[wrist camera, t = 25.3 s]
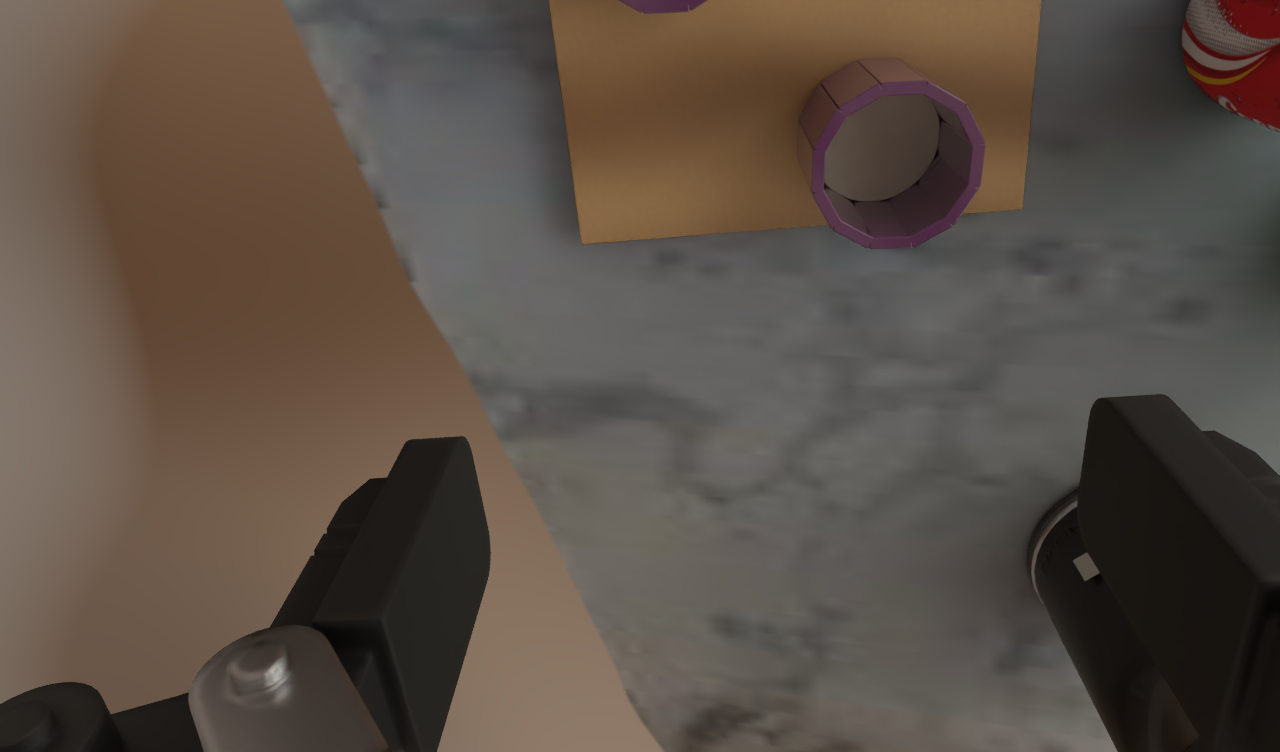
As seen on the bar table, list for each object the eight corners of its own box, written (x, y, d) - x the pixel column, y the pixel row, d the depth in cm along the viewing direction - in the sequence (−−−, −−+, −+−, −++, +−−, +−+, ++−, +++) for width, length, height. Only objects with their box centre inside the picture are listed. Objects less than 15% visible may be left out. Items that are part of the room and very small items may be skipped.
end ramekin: (978, 103, 35) (1019, 133, 31) (891, 232, 38) (918, 276, 33) (850, 29, 34) (873, 49, 30) (769, 166, 37) (780, 202, 32)
